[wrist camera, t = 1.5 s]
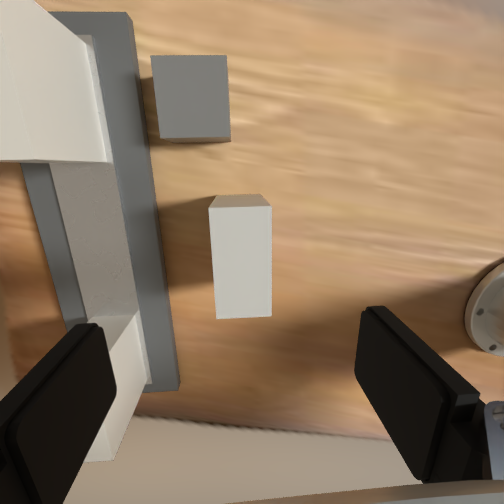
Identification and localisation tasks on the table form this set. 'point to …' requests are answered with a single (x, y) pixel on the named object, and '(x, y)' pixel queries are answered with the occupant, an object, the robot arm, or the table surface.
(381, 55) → the table surface
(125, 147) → the rail board
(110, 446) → the mounted modules
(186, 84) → the block
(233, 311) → the block
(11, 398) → the robot arm
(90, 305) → the metal rail
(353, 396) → the table surface
